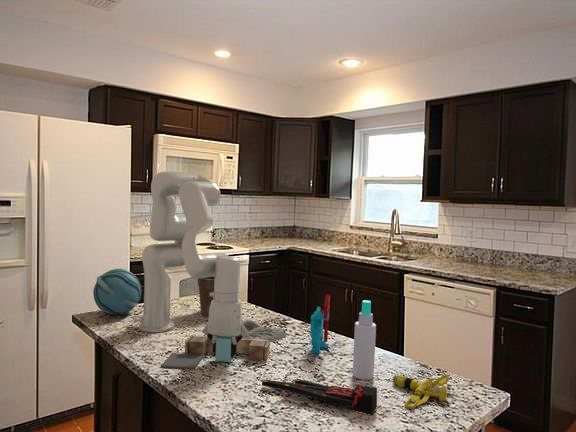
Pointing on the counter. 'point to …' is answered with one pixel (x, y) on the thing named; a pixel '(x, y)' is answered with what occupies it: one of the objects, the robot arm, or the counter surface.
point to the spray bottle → (364, 344)
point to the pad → (182, 361)
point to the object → (205, 293)
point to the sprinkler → (422, 389)
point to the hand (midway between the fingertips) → (224, 354)
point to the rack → (248, 346)
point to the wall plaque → (262, 331)
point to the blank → (223, 348)
